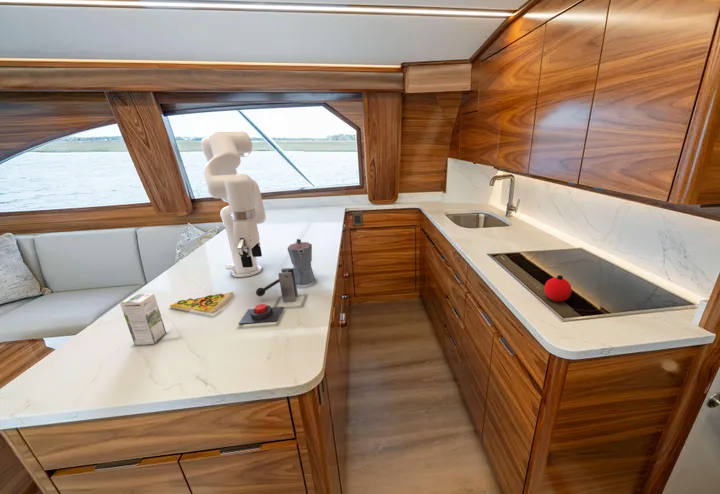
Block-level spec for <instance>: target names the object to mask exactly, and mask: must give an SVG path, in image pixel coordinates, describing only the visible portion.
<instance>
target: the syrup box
mask: <svg viewBox="0 0 720 494" xmlns="http://www.w3.org/2000/svg"><path fill="white" fill-rule="evenodd" d="M119 305H120V308H121V312H122V313H123V317H124V319H125V322H126V325H127V328H128V330H129V333H130V336H131V338H132V341H133V345H134V346H142V345H143V346H145V345H155V344H156V343H157V342H158V341H159V340H161V339H162V337H163V336H165V335H166V334H167V330H166V327H165V325H164V321H163V317H162V314H161V311H160V308H159V304H158V302H157V297H156V295H155V293H147V292H146V293H143V292H142V293H135V294H133V295H132V296H129V297H128V298H126V299H125V300H123V301H122V302H120V304H119Z"/></svg>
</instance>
